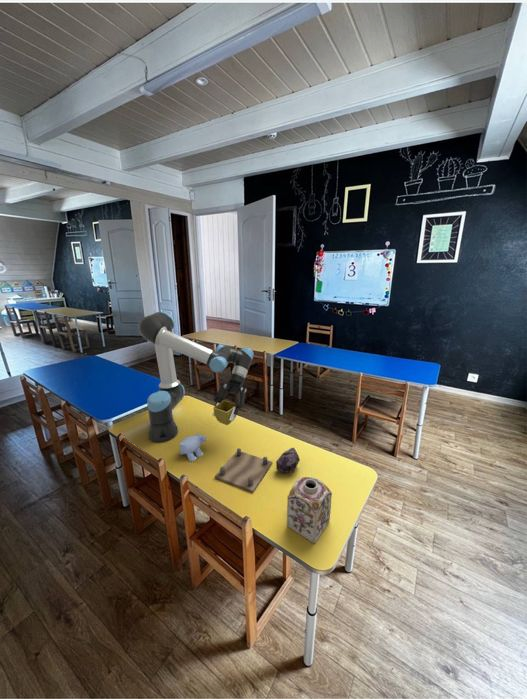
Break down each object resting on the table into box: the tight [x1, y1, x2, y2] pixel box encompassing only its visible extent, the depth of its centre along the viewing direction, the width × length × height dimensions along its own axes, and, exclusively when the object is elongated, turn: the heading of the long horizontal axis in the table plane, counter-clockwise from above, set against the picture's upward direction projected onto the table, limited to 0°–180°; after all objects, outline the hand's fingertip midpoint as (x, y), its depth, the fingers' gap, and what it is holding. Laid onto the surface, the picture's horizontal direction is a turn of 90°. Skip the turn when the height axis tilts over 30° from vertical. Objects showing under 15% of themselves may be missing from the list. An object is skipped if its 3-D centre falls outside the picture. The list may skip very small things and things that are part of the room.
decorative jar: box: [286, 476, 333, 544], centre depth 99 cm, size 12×12×18 cm
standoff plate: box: [214, 447, 273, 494], centre depth 127 cm, size 19×19×4 cm
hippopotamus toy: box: [179, 433, 207, 462], centre depth 138 cm, size 11×15×10 cm
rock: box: [275, 447, 301, 474], centre depth 127 cm, size 12×9×10 cm
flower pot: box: [212, 399, 237, 426], centre depth 139 cm, size 9×9×9 cm
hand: (222, 418), depth 136 cm, fingers closed on flower pot, 9 cm apart
